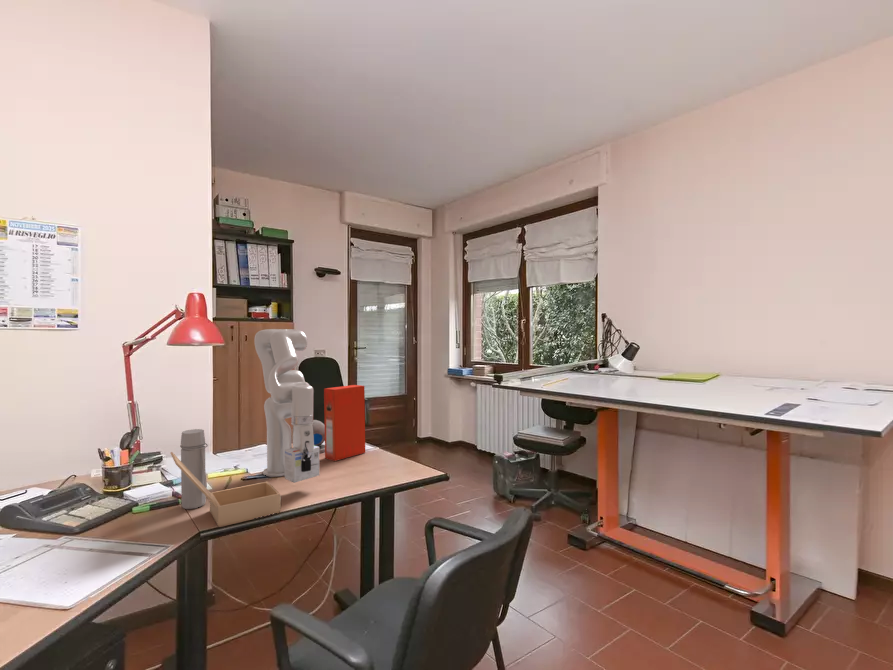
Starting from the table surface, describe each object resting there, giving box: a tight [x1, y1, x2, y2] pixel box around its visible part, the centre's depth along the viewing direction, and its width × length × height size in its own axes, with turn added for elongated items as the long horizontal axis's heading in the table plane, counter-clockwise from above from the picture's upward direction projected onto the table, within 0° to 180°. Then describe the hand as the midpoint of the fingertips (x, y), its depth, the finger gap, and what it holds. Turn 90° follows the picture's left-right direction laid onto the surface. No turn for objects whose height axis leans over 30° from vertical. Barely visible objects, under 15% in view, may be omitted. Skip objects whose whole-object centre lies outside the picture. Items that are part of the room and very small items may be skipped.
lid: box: [170, 451, 218, 507], centre depth 137 cm, size 15×18×1 cm
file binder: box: [323, 384, 366, 462], centre depth 210 cm, size 8×17×32 cm, turn 141°
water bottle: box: [180, 428, 208, 510], centre depth 150 cm, size 9×8×25 cm
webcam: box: [312, 419, 325, 455], centre depth 219 cm, size 13×13×15 cm
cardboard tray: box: [209, 481, 282, 528], centre depth 145 cm, size 15×18×6 cm
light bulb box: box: [284, 445, 320, 484], centre depth 163 cm, size 11×7×11 cm, turn 140°
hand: (302, 467), depth 163 cm, fingers closed on light bulb box, 7 cm apart
